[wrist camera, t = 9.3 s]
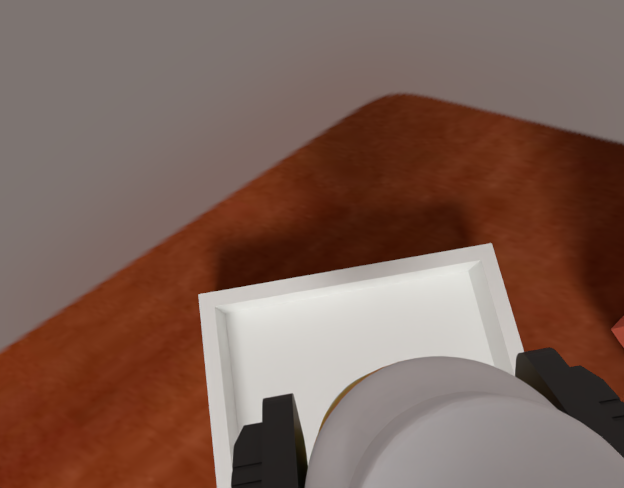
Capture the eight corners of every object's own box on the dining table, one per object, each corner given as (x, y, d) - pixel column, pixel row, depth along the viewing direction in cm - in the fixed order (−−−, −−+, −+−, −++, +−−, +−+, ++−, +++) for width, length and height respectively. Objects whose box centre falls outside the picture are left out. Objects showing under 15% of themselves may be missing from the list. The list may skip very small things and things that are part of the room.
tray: (473, 259, 28) (491, 243, 25) (557, 559, 24) (594, 587, 20) (214, 305, 28) (198, 294, 25) (247, 615, 24) (233, 652, 20)
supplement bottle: (287, 415, 15) (216, 454, 6) (430, 340, 16) (568, 271, 7) (365, 589, 14) (430, 1002, 5) (521, 501, 14) (869, 708, 5)
